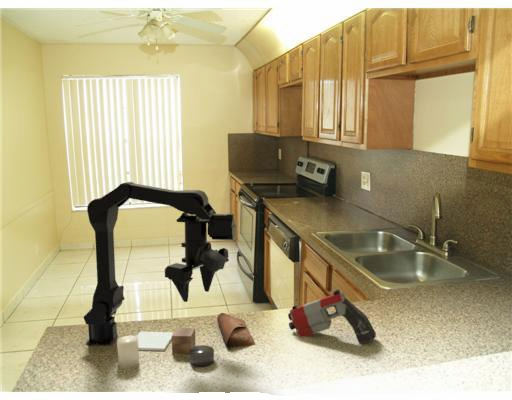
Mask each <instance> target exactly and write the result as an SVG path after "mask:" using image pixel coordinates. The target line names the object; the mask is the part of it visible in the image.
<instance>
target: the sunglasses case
mask: <svg viewBox="0 0 512 400" xmlns="http://www.w3.org/2000/svg"><path fill="white" fill-rule="evenodd" d="M216 322H217V325H218V327H219V329H220V331H221V334H222V336H223V340H224V343H225V346H226V347H227V348H228V349H235V348H236V349H237V348H245V347H250V346H251V347H252V346H256V342H255V339H254V338H253V336H252V334H251V332H250V331H249V329H248V327H247V325H246V321H245V320H244V319H241V318H237V317H234V316H232V315H230V314H227V313H224V312H221V313H219V314H218V315H217V317H216Z"/></svg>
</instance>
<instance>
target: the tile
mask: <svg viewBox="0 0 512 400" xmlns="http://www.w3.org/2000/svg"><path fill="white" fill-rule="evenodd" d="M173 333H174V331H173V332H171V331H170V332H167V331H166V332H165V331H139V332H138V334H136V335H135V336H136V337H138V345H139V351H163V352H164V351H166V349H167V347H168V346H169V344H170V343H171V342H172V334H173Z"/></svg>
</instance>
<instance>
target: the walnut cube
mask: <svg viewBox="0 0 512 400" xmlns="http://www.w3.org/2000/svg"><path fill="white" fill-rule="evenodd" d="M196 346H197V345H196V328H193V327H192V328H191V327H176V328H175V330H174V331H173V334H172V339H171V353H172V355H189V356H190V349H191V348H193V347H196Z"/></svg>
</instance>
